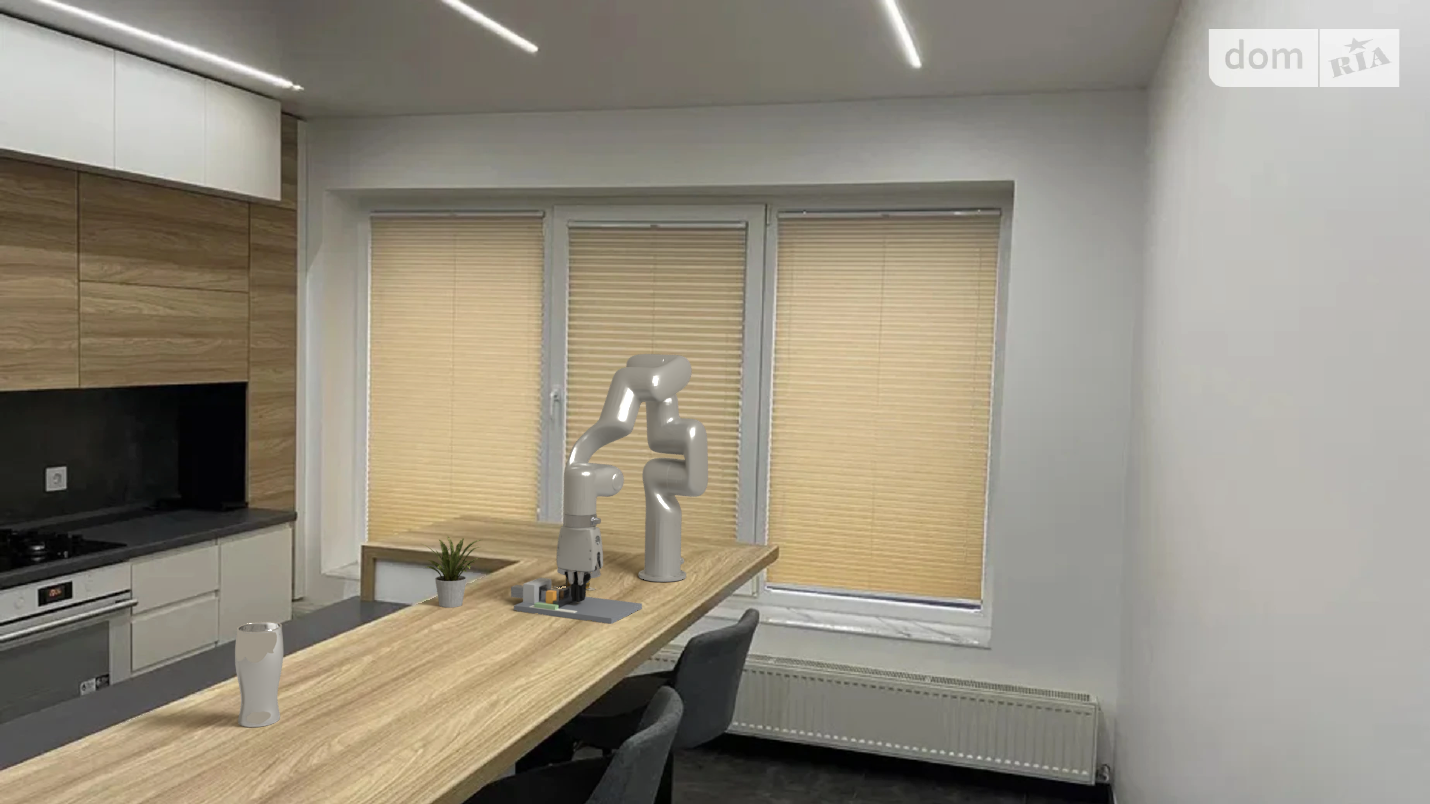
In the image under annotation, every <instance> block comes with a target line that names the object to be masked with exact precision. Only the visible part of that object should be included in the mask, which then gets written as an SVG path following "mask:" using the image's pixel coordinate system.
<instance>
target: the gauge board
mask: <svg viewBox="0 0 1430 804" xmlns="http://www.w3.org/2000/svg"><path fill="white" fill-rule="evenodd" d="M522 585H523V598H522V602H519V603H516V604H514V605H513V611H514V610H517V611H516V612H520V611H522V612H521V613H527V612H528V613H529V614H535V613H538V614H537V615H542V614H543V616H549V617H558V618H564V617H565V619H573V620H579V619H580V620H581V621H587V620H592V621H591V622H594V621H596V622H595V623H601V622H602V624H610V625H612V624H614V623H616V622H618V621H619V620H621V619H624V618H626V617H628V616H631V615H632V614H634V613H636V612H638V611H641V610H643V603H640V602H633V601H624V600H616V599H607V598H600V597H593V596H586V597H585V599H584V600H583V601H581V602H576V601H575V602H571V603H569V604H567V605H564V606H562V607H560V608H558V605H555V604H548V603H546V601H539V588H547V589H552V578H547V577H539V578H535V579H534V580H530V581H527V582H524V583H523V584H522ZM637 610H638V611H637ZM635 611H636V612H635ZM631 613H632V614H631ZM623 617H624V618H623ZM617 620H618V621H617Z"/></svg>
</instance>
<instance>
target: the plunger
mask: <svg viewBox="0 0 1430 804" xmlns="http://www.w3.org/2000/svg"><path fill="white" fill-rule="evenodd" d="M548 590H554V591H557V593H556V600H554V601H553V604H555V605H558V608H560V607H562V606H564V605H567V604H569V603H571V602H572V597H571V586H568V587H566V588H563V589H561V590H557V589H556V588H551V589H547V588H539V601H546V591H548ZM510 597H511V598H517V599H523V584H515V585H512V586H511V587H510Z"/></svg>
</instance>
